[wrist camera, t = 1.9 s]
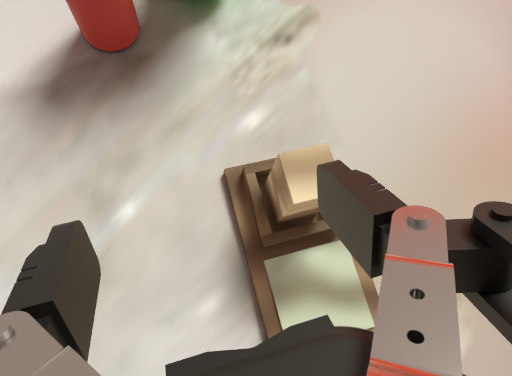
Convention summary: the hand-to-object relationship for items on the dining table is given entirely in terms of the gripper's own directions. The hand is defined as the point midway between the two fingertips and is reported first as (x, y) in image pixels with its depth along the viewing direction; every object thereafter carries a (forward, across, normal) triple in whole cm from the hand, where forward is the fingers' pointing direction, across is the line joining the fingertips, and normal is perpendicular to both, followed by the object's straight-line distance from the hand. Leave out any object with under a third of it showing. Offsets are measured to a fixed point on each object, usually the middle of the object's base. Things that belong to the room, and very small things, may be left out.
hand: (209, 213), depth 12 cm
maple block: (+21, -10, +14) cm, 27 cm away
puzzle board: (+18, -10, +18) cm, 28 cm away
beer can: (+40, +5, -3) cm, 40 cm away
